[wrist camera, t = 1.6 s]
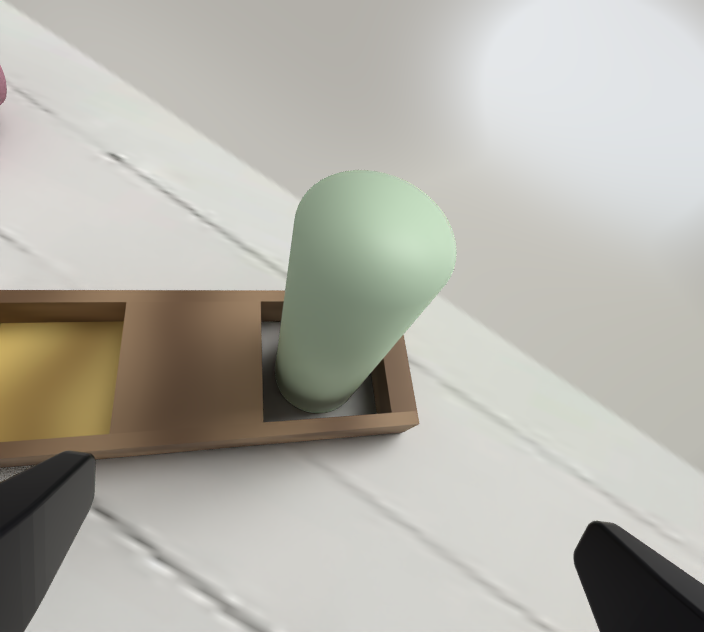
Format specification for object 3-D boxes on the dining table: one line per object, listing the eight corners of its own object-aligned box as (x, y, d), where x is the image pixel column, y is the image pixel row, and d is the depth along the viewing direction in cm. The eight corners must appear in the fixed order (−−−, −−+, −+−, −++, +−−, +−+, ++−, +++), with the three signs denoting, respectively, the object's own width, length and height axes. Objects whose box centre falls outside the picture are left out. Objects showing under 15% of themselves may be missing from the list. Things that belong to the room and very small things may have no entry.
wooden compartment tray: (383, 310, 24) (395, 290, 21) (402, 432, 21) (419, 423, 19) (-24, 314, 19) (-60, 290, 17) (-72, 474, 16) (-122, 468, 14)
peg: (306, 430, 20) (365, 341, 9) (258, 359, 21) (259, 205, 10) (374, 381, 22) (487, 260, 11) (326, 318, 23) (388, 151, 12)
